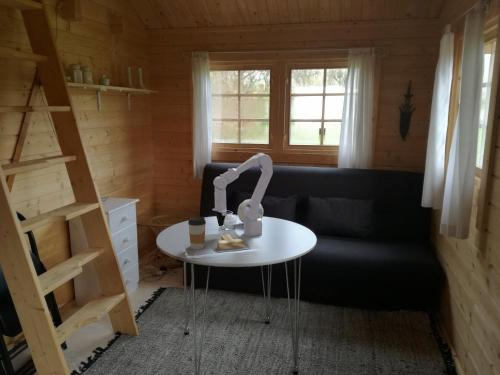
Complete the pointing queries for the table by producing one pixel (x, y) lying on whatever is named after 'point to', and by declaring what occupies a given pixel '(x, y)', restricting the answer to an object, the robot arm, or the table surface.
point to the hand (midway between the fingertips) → (220, 225)
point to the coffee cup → (197, 232)
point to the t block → (229, 242)
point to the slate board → (214, 238)
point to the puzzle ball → (240, 210)
